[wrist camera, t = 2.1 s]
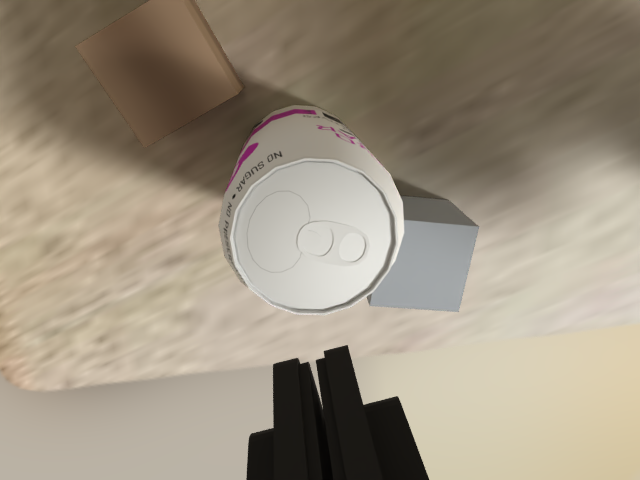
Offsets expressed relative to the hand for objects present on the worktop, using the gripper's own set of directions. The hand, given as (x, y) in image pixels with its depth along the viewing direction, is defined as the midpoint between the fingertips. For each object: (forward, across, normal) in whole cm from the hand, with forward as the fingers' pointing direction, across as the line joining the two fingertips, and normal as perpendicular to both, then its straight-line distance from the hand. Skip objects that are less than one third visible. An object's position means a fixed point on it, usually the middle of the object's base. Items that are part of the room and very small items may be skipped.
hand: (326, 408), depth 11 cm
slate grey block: (+25, -7, +7) cm, 27 cm away
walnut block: (+26, +5, -8) cm, 27 cm away
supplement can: (+26, -1, 0) cm, 26 cm away
